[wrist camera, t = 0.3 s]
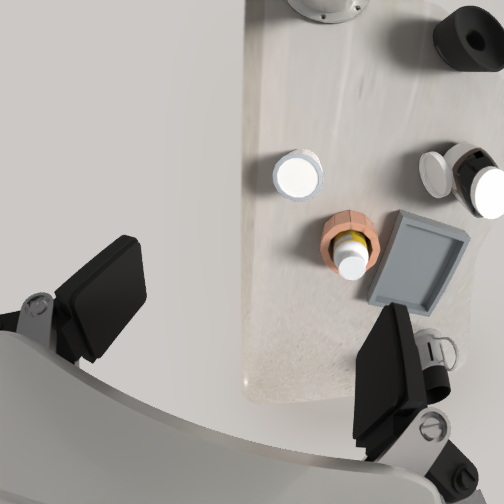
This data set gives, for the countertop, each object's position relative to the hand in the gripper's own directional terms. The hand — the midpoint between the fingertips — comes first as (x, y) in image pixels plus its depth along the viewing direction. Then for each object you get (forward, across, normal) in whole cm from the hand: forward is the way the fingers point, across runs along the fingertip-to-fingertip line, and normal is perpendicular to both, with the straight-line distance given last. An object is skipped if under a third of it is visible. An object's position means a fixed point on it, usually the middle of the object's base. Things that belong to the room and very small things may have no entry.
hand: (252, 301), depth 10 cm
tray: (+36, -23, +15) cm, 45 cm away
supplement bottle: (+36, -9, +13) cm, 40 cm away
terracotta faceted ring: (+36, -9, +13) cm, 39 cm away
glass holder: (+37, -35, +31) cm, 60 cm away
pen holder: (+35, -20, -24) cm, 47 cm away
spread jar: (+36, -23, -3) cm, 43 cm away
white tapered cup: (+36, +1, +3) cm, 36 cm away
